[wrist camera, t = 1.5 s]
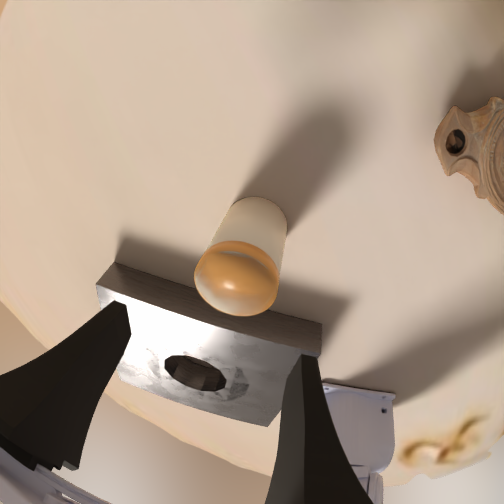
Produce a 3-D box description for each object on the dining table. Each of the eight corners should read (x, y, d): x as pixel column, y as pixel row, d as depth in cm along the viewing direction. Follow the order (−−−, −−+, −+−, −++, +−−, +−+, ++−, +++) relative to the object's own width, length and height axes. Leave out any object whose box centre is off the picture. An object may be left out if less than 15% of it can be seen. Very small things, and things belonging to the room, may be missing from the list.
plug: (295, 206, 18) (287, 265, 13) (278, 259, 20) (265, 324, 15) (230, 188, 18) (198, 239, 13) (220, 242, 20) (191, 302, 16)
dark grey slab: (321, 323, 23) (320, 353, 21) (271, 405, 32) (267, 427, 30) (113, 262, 24) (95, 284, 21) (130, 361, 33) (120, 380, 30)
